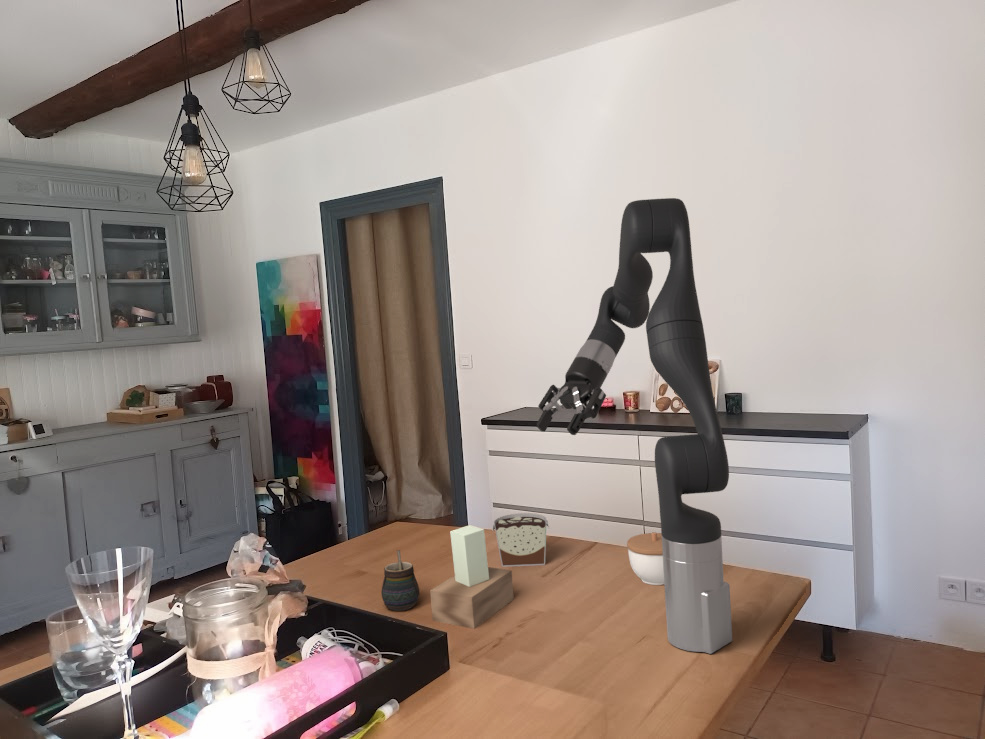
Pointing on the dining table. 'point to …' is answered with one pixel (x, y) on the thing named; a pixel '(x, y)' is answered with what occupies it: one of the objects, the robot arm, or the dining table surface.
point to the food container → (521, 539)
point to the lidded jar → (647, 557)
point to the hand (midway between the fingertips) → (555, 430)
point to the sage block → (469, 555)
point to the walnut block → (471, 599)
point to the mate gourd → (400, 586)
